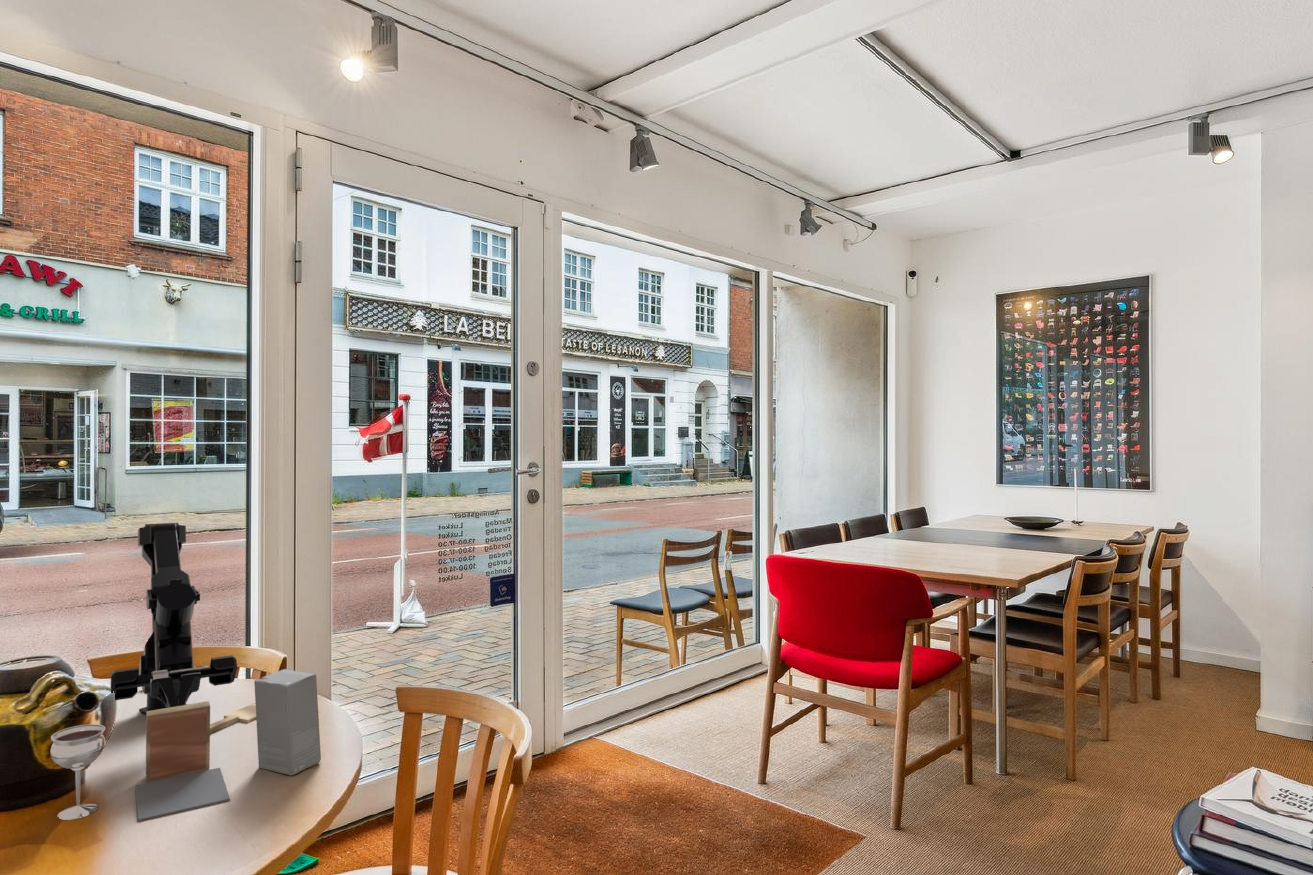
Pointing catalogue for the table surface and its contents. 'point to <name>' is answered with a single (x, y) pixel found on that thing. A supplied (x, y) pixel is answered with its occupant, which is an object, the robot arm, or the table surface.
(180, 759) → the oak tile
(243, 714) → the wooden spatula
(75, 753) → the wineglass
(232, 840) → the table surface
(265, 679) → the skincare box
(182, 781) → the felt mat
